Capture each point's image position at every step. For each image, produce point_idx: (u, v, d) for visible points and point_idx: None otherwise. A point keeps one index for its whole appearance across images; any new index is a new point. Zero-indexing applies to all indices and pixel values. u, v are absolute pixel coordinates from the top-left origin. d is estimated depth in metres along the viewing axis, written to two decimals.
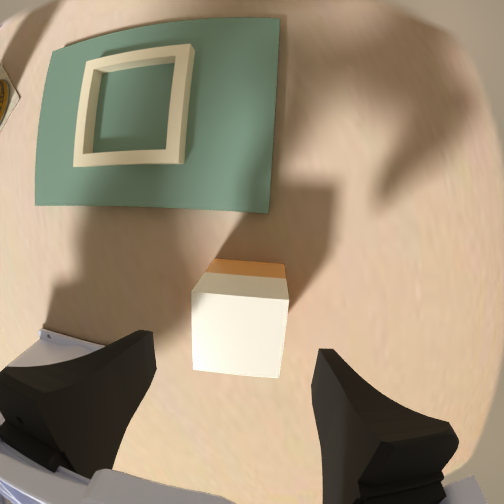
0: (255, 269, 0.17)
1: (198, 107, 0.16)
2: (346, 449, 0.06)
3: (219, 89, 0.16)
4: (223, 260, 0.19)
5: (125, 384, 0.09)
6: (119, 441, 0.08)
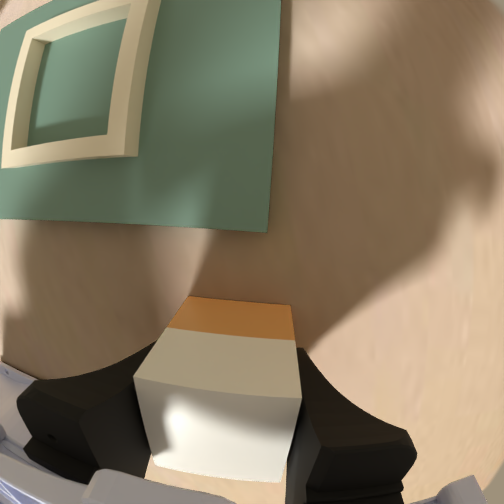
0: (246, 319, 0.11)
1: (160, 70, 0.10)
2: (300, 450, 0.06)
3: (192, 44, 0.09)
4: (200, 300, 0.12)
5: None
6: (150, 450, 0.08)
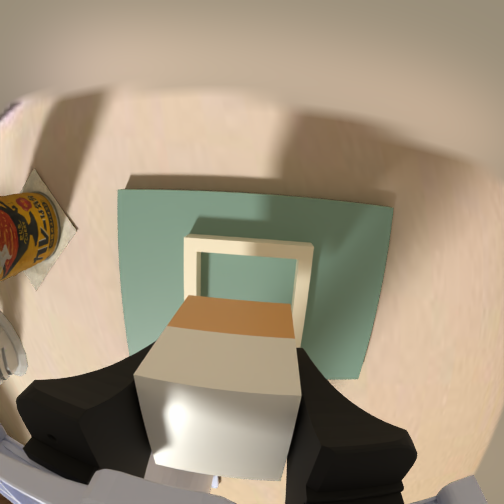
0: (246, 318, 0.11)
1: (312, 303, 0.19)
2: (300, 450, 0.06)
3: (333, 288, 0.19)
4: (200, 299, 0.12)
5: None
6: (150, 450, 0.08)
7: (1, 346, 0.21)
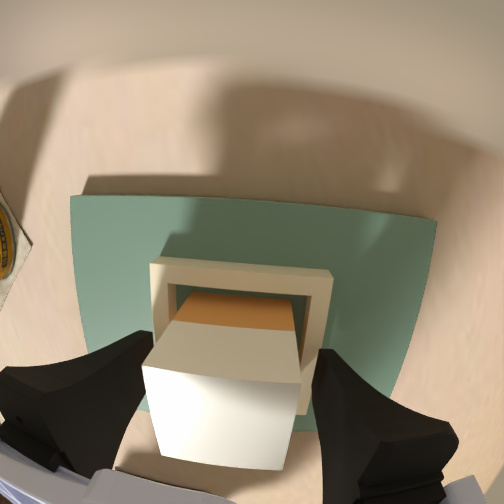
0: (248, 312, 0.12)
1: (327, 347, 0.14)
2: (346, 449, 0.06)
3: (355, 328, 0.13)
4: (203, 295, 0.13)
5: (125, 384, 0.09)
6: (119, 441, 0.08)
7: None
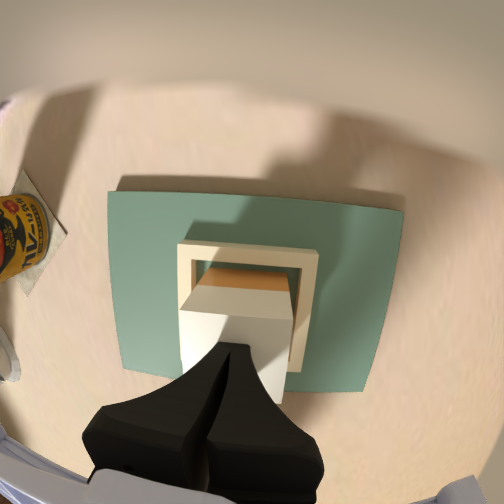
0: (253, 280, 0.15)
1: (316, 314, 0.17)
2: None
3: (338, 298, 0.17)
4: (218, 269, 0.17)
5: (218, 402, 0.09)
6: None
7: None
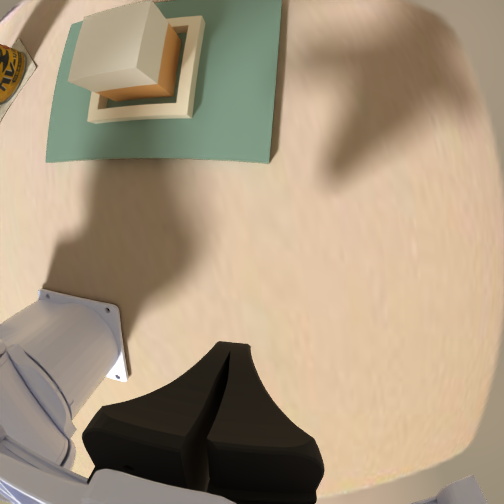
0: None
1: (206, 69, 0.17)
2: None
3: (226, 55, 0.16)
4: None
5: (218, 402, 0.09)
6: None
7: None
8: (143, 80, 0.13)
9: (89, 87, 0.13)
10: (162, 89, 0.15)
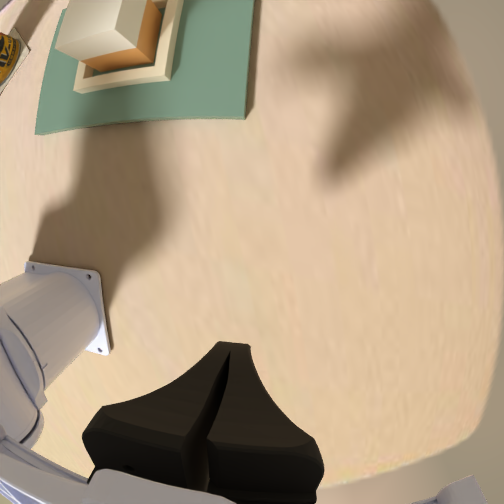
0: None
1: (184, 36, 0.16)
2: None
3: (203, 23, 0.16)
4: None
5: (218, 402, 0.09)
6: None
7: None
8: (122, 44, 0.13)
9: (74, 55, 0.13)
10: (142, 54, 0.15)
